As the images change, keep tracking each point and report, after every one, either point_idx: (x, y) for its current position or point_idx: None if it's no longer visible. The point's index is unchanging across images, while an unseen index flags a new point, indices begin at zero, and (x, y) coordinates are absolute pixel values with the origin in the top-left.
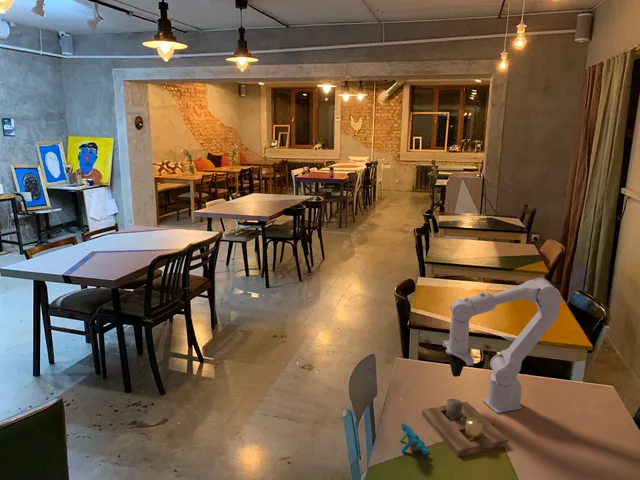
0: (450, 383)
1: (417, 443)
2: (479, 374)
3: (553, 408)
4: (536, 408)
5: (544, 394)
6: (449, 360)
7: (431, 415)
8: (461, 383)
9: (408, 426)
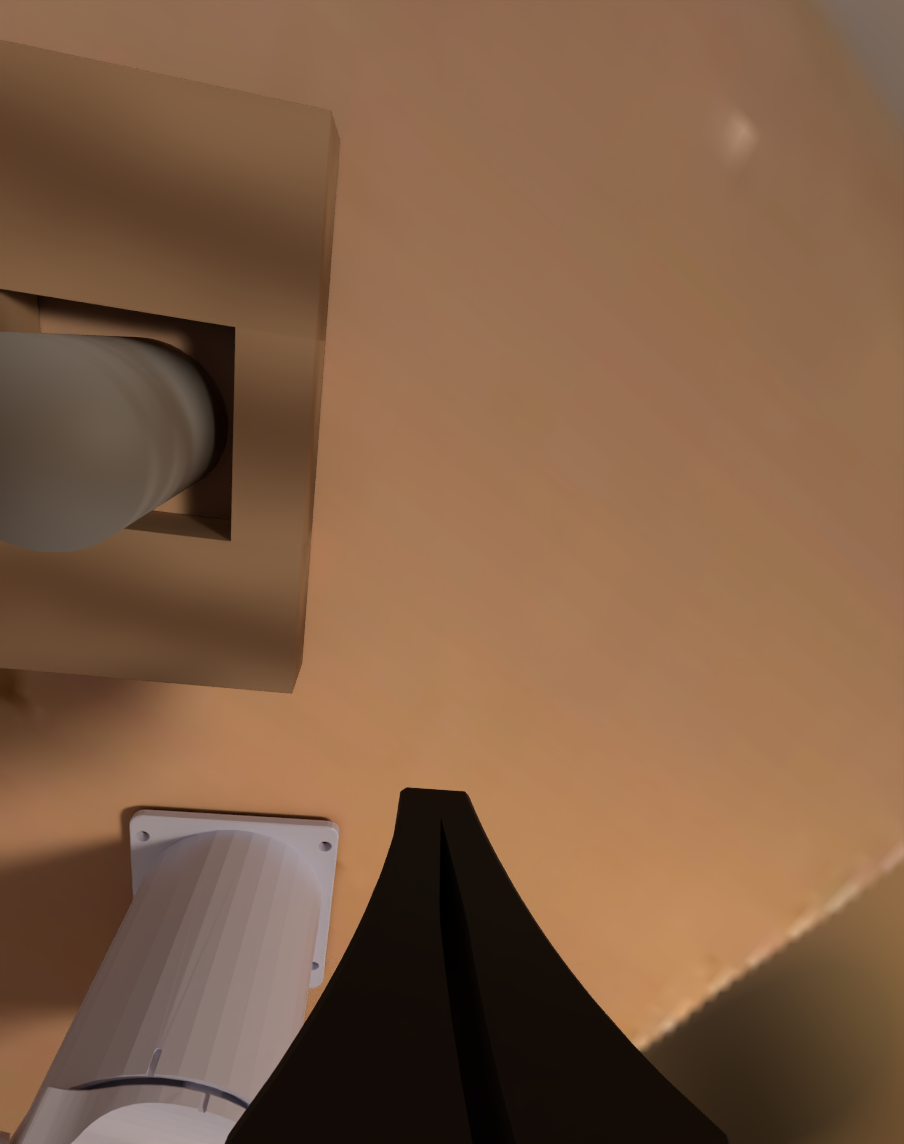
0: (653, 759)
1: None
2: (627, 985)
3: None
4: None
5: None
6: (573, 1031)
7: (171, 136)
8: (606, 828)
9: None
